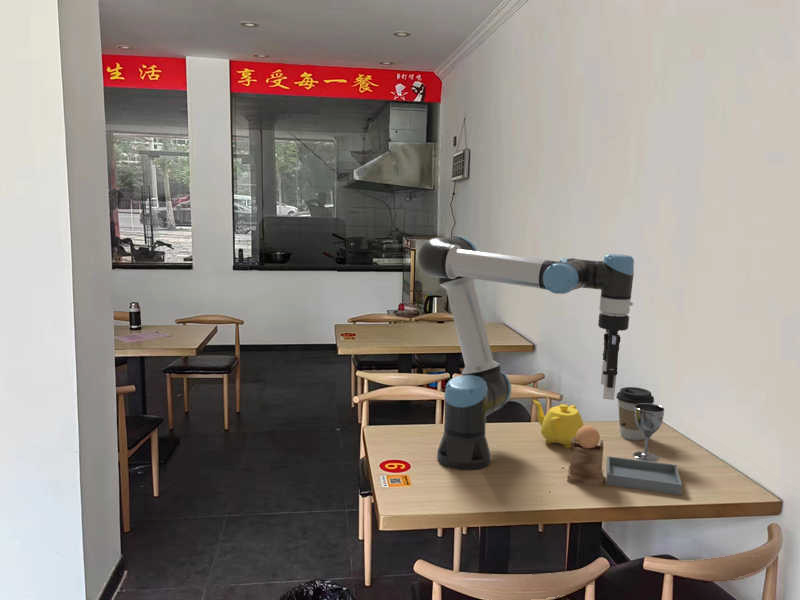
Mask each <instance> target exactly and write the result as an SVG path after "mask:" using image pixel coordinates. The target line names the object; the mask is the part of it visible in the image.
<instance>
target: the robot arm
mask: <svg viewBox="0 0 800 600" xmlns="http://www.w3.org/2000/svg"><path fill="white" fill-rule="evenodd" d="M417 260H418V264H419V268H420V269H421V271H422V272H424V274H426V275H427V276H429V277H431V278H437V279H438V283H439V286H440V287H441V288H443V289H445V290H446V295H447V297H448V298H447V299H448V302H449V306H450V309H451V311H450V312H451V315H452V319H453V322H454V326H455V331H456V333H457V334H456V335H457V338H458V342H459V346H460V351H461V354H462V358H463V362H464V367H463V370H462V371H461V376H459V375H458V376H455V377H453V378H450V379H449V380H448V382H447V383H446V384H445V391H444V420H443V421H444V424H443V425H444V429H443V431H444V432H443V435H442V437H441V441H440V443H439V446H438V448H437V455H436V456H437V457H436V459H437V461H438V462H439V463H440V464H441V465H442V466H444V467H447V468H450V469H454V470H461V471H475V470H480V469H483V468H486V467H487V466H489V465H490V464H491V451H490V447H489V444H488V440H487V437H486V424H487V423H486V422H487V421H486V420H487V418H486V417H487V416H489V415H491V414H493V413H494V412H497V411H498V410H501V409H502V408H503V407H504V406H505V405H506V403H508V401H509V399H510V398H511V396H512V395H511V394H512V385H511V381H510V378H509V377H508V376H507V374H505V373H504V372H503V371H502V370H501V366H500V363H499V362H497V361H496V360H494V359H493V355H492V350H491V346H490V343H489V338H488V334H487V330H486V327H485V323H484V320H483V319H484V318H483V315H482V310H481V308H480V307H481V306H480V302H479V299H478V298H479V297H478V295H477V291H476V287H475V281H476V280H481V281H487V282H494V283H500V284H508V285H512V286H513V285H514V286H521V287H526V288H527V287H528V288H535V289H541V290H546V291H548V292H550V293H553V294H556V295H559V294H561V295H563V294H567V293H570V292H572V291H575V290H578V289H589V290H590V289H593V290H600V300H599V312H600V313H599V314H598V327H599V328H601V329H603V330H605V333H604V334H603V353H602V366H601V367H602V368H601V377H600V385H603V394H602V400H610V401H612V400H613V401H614V400H615V393H616V381H617V375H618V373H619V372H618V364H619V363H618V361H619V351H620V343H621V336H620V334H619V331H622V332H623V331H626V330H628V329H629V324H630V316H629V314H630V310H631V309H630V308H631V306H632V307H633V305H634V303H633V301H631V300H632V299H631V298H632V290H633V289H632V288H633V282H634V275H635V273H634V269H635V267H634V266H635V262H634V261H635V259H634V258H633V256H631V255H628V254H627V255H626V254H615V253H614V254H613V253H608V254H605V255H604V257H603V260H598V261H597V260H588V259H578V258H574V257H572V258H561V259H560V260H558V261H557V260H549V259H548V260H547V259H542V258H541V259H539V258H531V257H524V256H515V255H508V254H500V253H495V252H494V253H492V252H487V251H486V252H485V251H478V250H477V248H476V245H474V243H473V242H472V241H471V240H470V239H467V238H466V237H462V236H457V235H456V236H455V235H454V236H446V237H433V238H430V239H429V240H427V241H425V242H424V243H423V244H422V246H421V247H420V249H419V252H418V255H417Z"/></svg>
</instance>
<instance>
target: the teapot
mask: <svg viewBox="0 0 800 600" xmlns="http://www.w3.org/2000/svg"><path fill="white" fill-rule="evenodd" d="M532 401H533V402H534V404H535V406H536V410H537V411H536V412H537V415H536V416H537V418H536V419H537V421H538V424H539V425H540V426H541V427H540V428H541V429H540V432H541V435H542V436H543V439H545V440H546V441H545V443H546V444H548V445H552V444H554V443H556V444H562V446H563V448H565V449H571V446H572V437H575V442H577V439H576V434H577V431H578V430H579V429H580V428H581V427H583V426H585V425H584V421H583V418H582V416H581V413H580V412H579V410H578V409H577V407H576V405H574V404H572V405H570V406H569V405H567V404H564V403H561V404H559V405H556V406H552V407H550V408H549V410H548V411H547V412H546V414H544V411H543V405H542V404H541V402H539V401H537V400H534V399H532Z"/></svg>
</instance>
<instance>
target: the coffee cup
mask: <svg viewBox="0 0 800 600" xmlns="http://www.w3.org/2000/svg"><path fill="white" fill-rule="evenodd" d="M615 397H616V399H617V405H618V419H619V432H620V437H622V438H624V439H625V438H626V440H629V441H642V440H645V438H644V435H643V433H642V432H641V431H640V429H639V428H638V427H637V425H636V422H635V414H634V413H635V405H636V404H638V403H650V404H655V398H654V396H653V395H652V391H650V390H648V389H645V388H641V387H634V386H627V387H622V388H620V389H619V391H618V392H617V394H616V396H615Z"/></svg>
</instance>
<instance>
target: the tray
mask: <svg viewBox="0 0 800 600" xmlns="http://www.w3.org/2000/svg"><path fill="white" fill-rule="evenodd" d="M605 466H606V485H609V486H616V487H621V488H626V489H627V488H629V489H635V490H641V491H650V492H655V493H656V492H657V493H664V494H671V495H678V496H682V489H683V483H682V480H681V477H680V474H679V469H678V466H677V464H671V463H663V462H656V461H644V460H640V459H633V458H624V457H617V456H609V455H607V456H606V465H605Z"/></svg>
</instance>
